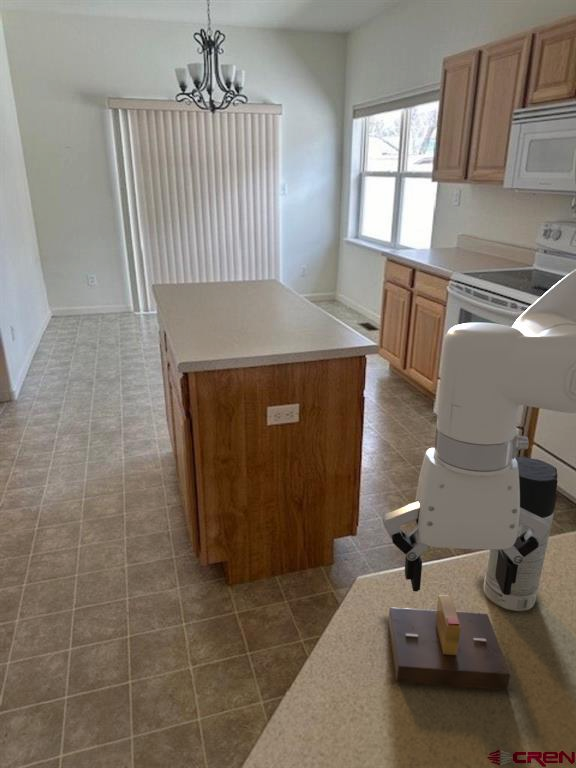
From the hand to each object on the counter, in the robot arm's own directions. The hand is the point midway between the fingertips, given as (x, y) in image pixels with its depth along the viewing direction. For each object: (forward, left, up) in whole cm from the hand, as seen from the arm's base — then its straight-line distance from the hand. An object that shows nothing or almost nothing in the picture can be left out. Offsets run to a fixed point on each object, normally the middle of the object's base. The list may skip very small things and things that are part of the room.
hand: (458, 584), depth 60 cm
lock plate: (+1, 0, -11) cm, 11 cm away
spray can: (-10, -11, -11) cm, 19 cm away
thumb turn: (+1, 0, -8) cm, 8 cm away
